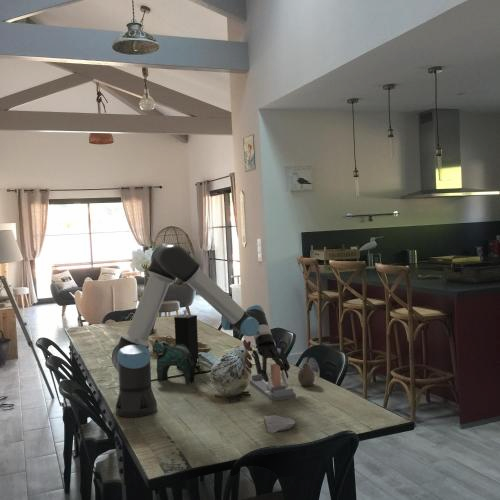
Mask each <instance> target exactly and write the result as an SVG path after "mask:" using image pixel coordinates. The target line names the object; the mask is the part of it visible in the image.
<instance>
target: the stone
mask: <svg viewBox="0 0 500 500" xmlns="http://www.w3.org/2000/svg"><path fill="white" fill-rule="evenodd" d="M263 422H264V425H265V428H266V433H269V434H274V433H276V432H281V431H282V432H283V431H285V430H289V429H291V428H292V427H294V425H295V424H296V421H295V420H294V419H292V418H290V417H283V416H281V415H276V414H273V415H264V416H263Z"/></svg>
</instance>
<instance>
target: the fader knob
mask: <svg viewBox="0 0 500 500" xmlns="http://www.w3.org/2000/svg"><path fill="white" fill-rule="evenodd" d="M270 377H271V381H272V384H273V388H272V390H270V389H269V386H268V384H267V389H269V390H270V391H271V392H272V391H276V390H283V389H285V385H284V383H282V382H281V378H282V376H281V370H280V366H279V365H278V364H276V363H273V364H270Z"/></svg>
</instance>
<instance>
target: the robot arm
mask: <svg viewBox="0 0 500 500" xmlns="http://www.w3.org/2000/svg"><path fill="white" fill-rule="evenodd" d="M147 273H148V276H149V277H148V280H147V282H146V283H145V284H146V285H145V287H144V289H143V293H142V295H141V298H140V299H139V302H138V304H137V308H136V309H135V311H134V312H135V313H134V314H133V317H132V319H131V322H130V324H129V326H128V329H127V332H126V333H124V334H122V335H121V337H120V338H119V342H118V344H116V346H114V348H113V350H112V353H111V363H112V365H113V367H114V369H115V370H116V371H117V373H118V386H119V387H118V388H119V389H118V390H119V392H118V396H117V399H116V403H115V414H116V415H117V416H119V417H121V418H123V417H124V418H139V417H145V416H148V415H151V414H154V413H155V412H156V411H157V410H158V403H157V399H156V397H155V394H154V392H153V389H152V374H151V371H152V369H151V354H150V349H149V347H150V344H149V341H148V339H149V337H150V335H151V332H152V329H153V327H154V325H155V322H156V320H157V317H158V314H159V312H160V310H161V308H162V305H163V302H164V299H165V297H166V295H167V292H168V290H169V287H170V285H171V284H173V283H175V282H176V279H177V280H179V281H180V282H181V284H187V285H188V286H189V287H190V288H191V289H192V290H193V291H195V292H196V294H198V295H199V296H200V297H201V298H202V299H203V300H204V301H206V302H207V303H208V305H210V306H211V307H212V308H213V309H215V310H216V312H217V313H218V314H220V315H221V319H220V320H221V321H220V324H221V327H222V329H223V330H224V331H236V332H238V333H240V334H242V335H243V336H245V337H253V339H254V342H255V347H256V350H253V351H252V353H251V356H252V358H253V359H254V364H255V368H256V374H259V375H260V374H262V376H263V377H264V380H265V382H267V383H268V386H269V389H270V390H272V388H273V384H272V381H271V378H270V377H271V374H270V375H269V373H270V372H269V371H267V368H268V367H267V366H268V363H267V361H268V359H271V360H272V361H274V364H278V365H279V366H280V377H281V378H282V381H283V385H285V388H288V387H289V386H290V382H289V374H288V371H290V368H291V366H290V364H289V360H288V359H287V356H286V354H285V351H284V350H285V349H284V347H277V346H276V343H275V340H274V337H273V334H272V331H271V328H270V325H269V322H268V320H267V316H266V313H265V311H264V308H263V307H262V306H261V305H259V304H253V305H250V306H248V307H247V309H246V310H244V309H243V308H242V307H241V306H240V305H239V304H238V303H237V302H236V301H235V300H234V299H233V298H232V297H230V295H228V294H227V293H226V292H225V291H224V290H223V289H222V288H221V287H220V286H219V285H218V284H217V283H216V282H215V281H214V280H212V278H211V277H210V276H208V275H207V274H206V273H205V272H204V270H202V269H201V264H200V263H198V262H197V260H196V259H194V257H193V256H192V255H191V254H190V253H189V252H188V251H187V250H186V249H185V248H184V247H182V246H181V245H179V244H171V243H163V244H160V245H158V246H157V247H155V249H154V250H153V252H152V254H151V257H150V264H149V267H148V270H147ZM278 355H279V356H278ZM260 356H261V360H262V361H261V362H262V364H261V362H260ZM288 389H289V388H288Z"/></svg>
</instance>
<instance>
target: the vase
mask: <svg viewBox="0 0 500 500" xmlns="http://www.w3.org/2000/svg"><path fill="white" fill-rule="evenodd" d="M315 377H316V375H315V372H314V370H313V369H312V367H311V365H310V364H309V363H303V364H302V366H301V367H300V369H299V370H298V374H297V380H298V383H299V384H300V385H301V386H302V387H312V385H313V384H314V382H315Z"/></svg>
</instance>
